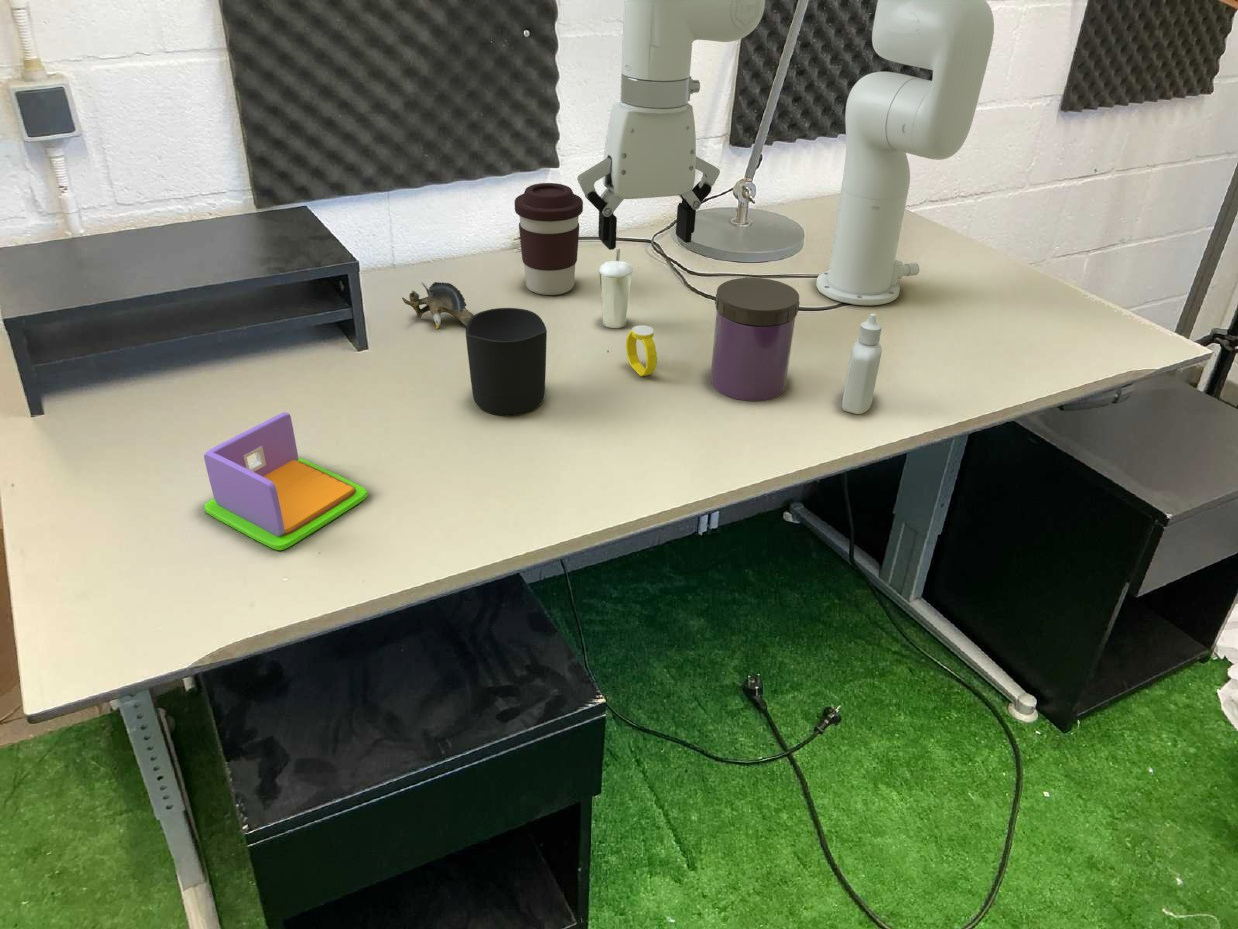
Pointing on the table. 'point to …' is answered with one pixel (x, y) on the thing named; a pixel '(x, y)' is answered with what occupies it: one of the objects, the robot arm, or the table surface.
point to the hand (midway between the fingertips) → (646, 242)
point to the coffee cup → (549, 236)
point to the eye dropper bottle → (863, 368)
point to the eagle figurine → (440, 302)
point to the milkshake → (615, 291)
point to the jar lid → (757, 301)
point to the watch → (646, 336)
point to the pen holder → (507, 360)
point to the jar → (750, 359)
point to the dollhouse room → (274, 486)
